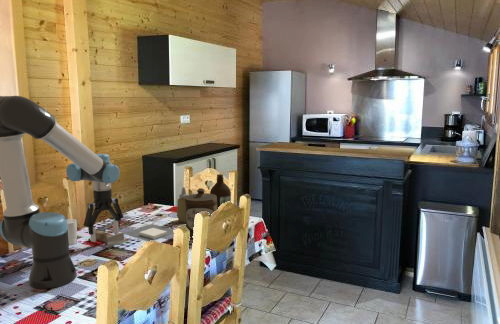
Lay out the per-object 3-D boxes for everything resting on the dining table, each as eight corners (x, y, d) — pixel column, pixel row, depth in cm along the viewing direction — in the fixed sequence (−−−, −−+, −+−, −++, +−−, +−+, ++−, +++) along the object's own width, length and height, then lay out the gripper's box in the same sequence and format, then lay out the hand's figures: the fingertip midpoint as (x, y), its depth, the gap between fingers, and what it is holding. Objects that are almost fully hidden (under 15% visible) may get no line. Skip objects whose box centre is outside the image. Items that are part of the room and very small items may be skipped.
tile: (139, 235, 194) (153, 239, 189) (139, 232, 194) (153, 236, 188) (153, 230, 201) (167, 234, 195) (152, 227, 201) (167, 231, 195)
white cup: (55, 244, 185) (53, 222, 184) (70, 239, 192) (68, 218, 191) (67, 247, 182) (65, 224, 180) (82, 241, 189) (80, 220, 187)
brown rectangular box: (86, 241, 190) (85, 230, 189) (102, 236, 196) (101, 225, 195) (108, 248, 180) (107, 237, 179) (124, 243, 186) (123, 232, 185)
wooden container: (183, 239, 189) (181, 192, 186) (189, 229, 204) (188, 185, 201) (216, 239, 189) (215, 192, 185) (220, 229, 203) (218, 185, 200)
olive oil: (206, 222, 215) (205, 174, 211) (222, 218, 222) (221, 172, 218) (219, 227, 207) (218, 177, 203) (235, 222, 214) (234, 174, 210)
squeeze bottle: (175, 220, 219) (173, 186, 217) (190, 218, 223) (188, 185, 220) (179, 224, 212) (178, 189, 209) (194, 222, 215) (193, 188, 213)
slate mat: (150, 242, 186) (149, 241, 186) (122, 234, 198) (122, 233, 197) (179, 232, 200) (179, 231, 200) (152, 225, 212) (152, 224, 212)
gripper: (82, 195, 172) (85, 246, 175) (129, 185, 190) (132, 232, 193) (72, 192, 176) (75, 243, 179) (119, 184, 195) (122, 229, 198)
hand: (105, 237), depth 186 cm, fingers open, 11 cm apart
